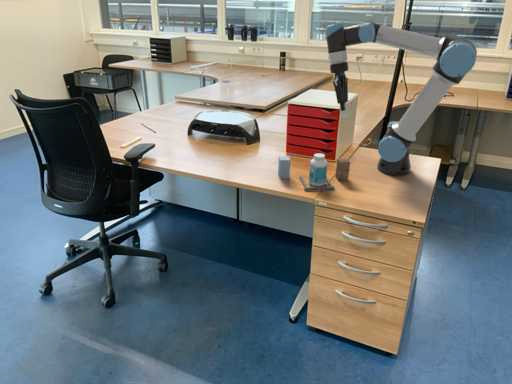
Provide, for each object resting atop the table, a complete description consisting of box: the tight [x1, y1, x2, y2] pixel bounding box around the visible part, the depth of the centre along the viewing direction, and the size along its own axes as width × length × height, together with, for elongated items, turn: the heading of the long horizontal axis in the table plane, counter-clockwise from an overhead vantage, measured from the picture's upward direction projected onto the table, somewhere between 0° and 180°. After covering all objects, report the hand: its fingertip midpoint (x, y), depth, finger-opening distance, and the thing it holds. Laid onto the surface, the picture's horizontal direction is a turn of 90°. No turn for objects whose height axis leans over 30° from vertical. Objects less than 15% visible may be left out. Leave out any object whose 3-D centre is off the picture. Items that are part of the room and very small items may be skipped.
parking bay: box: [299, 175, 336, 192], centre depth 187 cm, size 13×13×1 cm
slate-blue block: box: [277, 155, 292, 180], centre depth 191 cm, size 4×4×9 cm
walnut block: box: [334, 157, 351, 182], centre depth 190 cm, size 4×4×9 cm
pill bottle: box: [308, 152, 328, 187], centre depth 184 cm, size 8×7×14 cm
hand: (344, 117), depth 187 cm, fingers closed
